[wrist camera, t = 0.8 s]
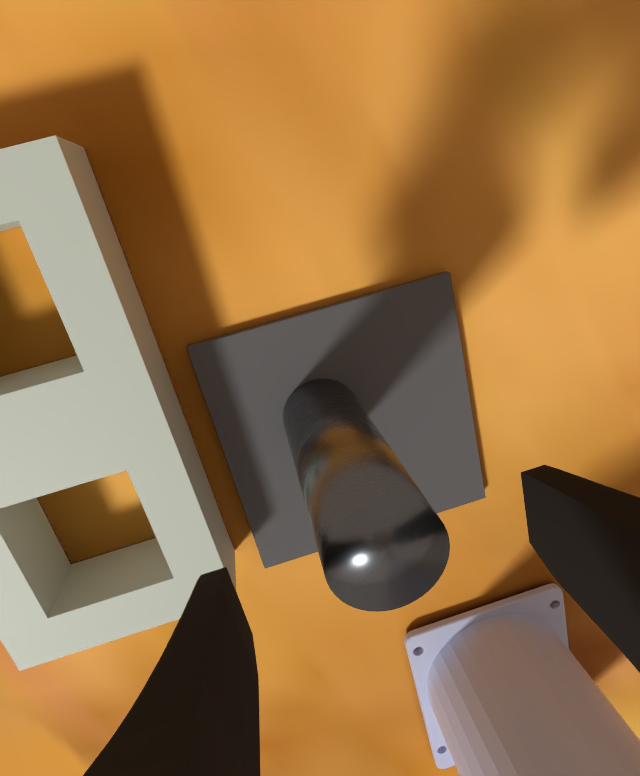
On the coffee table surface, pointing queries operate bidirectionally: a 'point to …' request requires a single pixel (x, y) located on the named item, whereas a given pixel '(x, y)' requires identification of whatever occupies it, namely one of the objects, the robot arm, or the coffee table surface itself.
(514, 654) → the robot arm
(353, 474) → the steel peg
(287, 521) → the rubber mat
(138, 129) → the coffee table surface
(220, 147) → the coffee table surface
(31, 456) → the socket block
